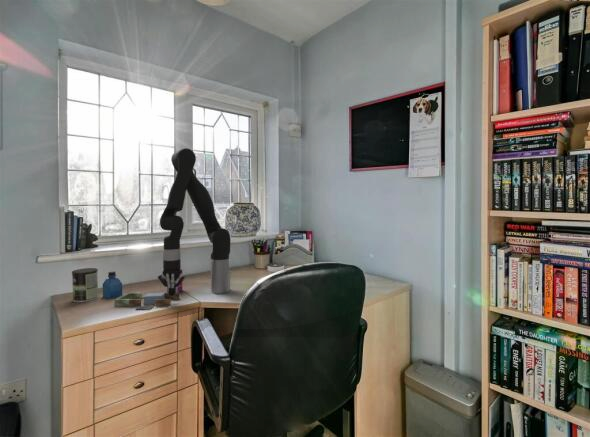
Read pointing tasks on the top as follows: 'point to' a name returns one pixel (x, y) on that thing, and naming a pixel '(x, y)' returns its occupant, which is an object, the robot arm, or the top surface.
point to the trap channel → (135, 298)
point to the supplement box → (178, 286)
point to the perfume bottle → (112, 286)
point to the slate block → (153, 298)
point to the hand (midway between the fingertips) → (172, 295)
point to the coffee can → (85, 284)
